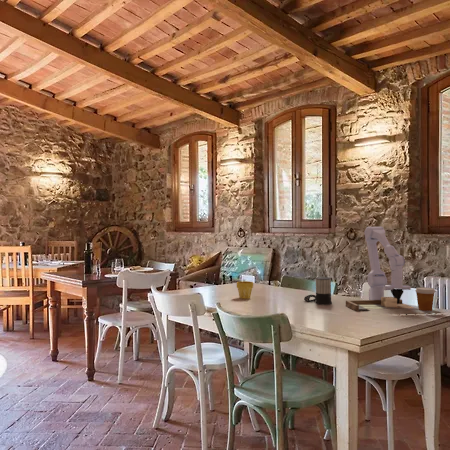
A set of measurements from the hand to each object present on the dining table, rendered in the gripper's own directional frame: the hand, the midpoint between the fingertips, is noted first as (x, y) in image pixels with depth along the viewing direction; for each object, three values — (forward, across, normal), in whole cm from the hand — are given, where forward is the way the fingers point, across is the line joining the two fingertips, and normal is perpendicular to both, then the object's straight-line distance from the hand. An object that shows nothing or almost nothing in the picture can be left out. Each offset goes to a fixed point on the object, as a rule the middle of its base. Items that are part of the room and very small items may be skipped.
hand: (397, 303), depth 244 cm
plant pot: (+3, -77, +43) cm, 89 cm away
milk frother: (+3, -38, +21) cm, 43 cm away
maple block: (+1, -5, 0) cm, 5 cm away
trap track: (+2, -10, 0) cm, 10 cm away
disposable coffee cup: (+3, +9, -12) cm, 15 cm away
